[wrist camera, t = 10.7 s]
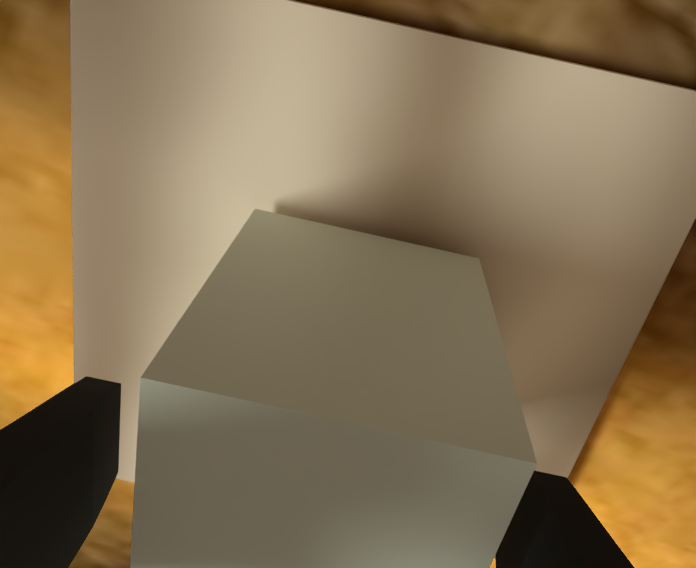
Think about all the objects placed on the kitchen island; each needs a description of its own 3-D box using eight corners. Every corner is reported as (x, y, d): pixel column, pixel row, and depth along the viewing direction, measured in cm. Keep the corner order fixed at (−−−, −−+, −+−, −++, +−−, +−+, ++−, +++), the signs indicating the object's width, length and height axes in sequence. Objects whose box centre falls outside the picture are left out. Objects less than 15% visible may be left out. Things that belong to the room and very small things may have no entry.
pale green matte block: (229, 390, 16) (126, 629, 10) (255, 208, 14) (140, 377, 8) (420, 432, 16) (431, 693, 10) (479, 258, 14) (537, 463, 8)
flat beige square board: (84, 456, 19) (-77, 691, 12) (83, -47, 12) (-241, -85, 6) (521, 548, 19) (580, 825, 13) (736, 98, 13) (1064, 205, 6)
